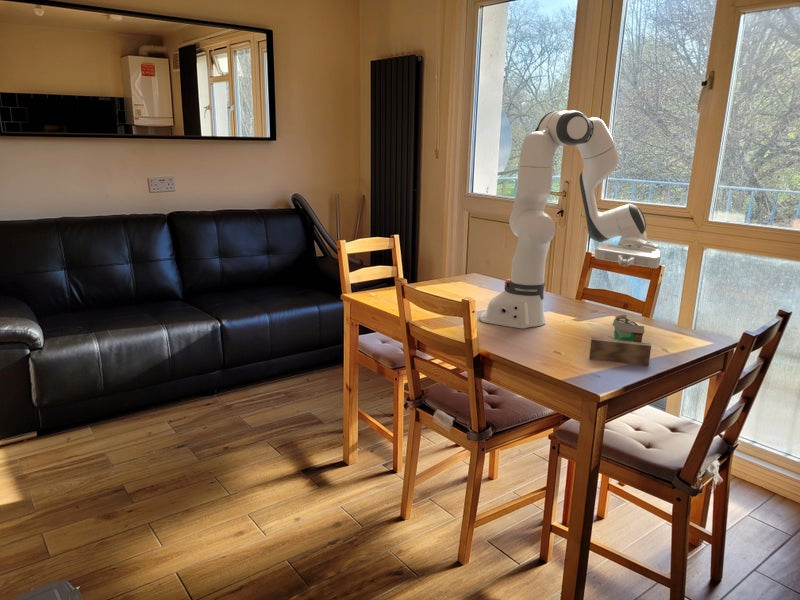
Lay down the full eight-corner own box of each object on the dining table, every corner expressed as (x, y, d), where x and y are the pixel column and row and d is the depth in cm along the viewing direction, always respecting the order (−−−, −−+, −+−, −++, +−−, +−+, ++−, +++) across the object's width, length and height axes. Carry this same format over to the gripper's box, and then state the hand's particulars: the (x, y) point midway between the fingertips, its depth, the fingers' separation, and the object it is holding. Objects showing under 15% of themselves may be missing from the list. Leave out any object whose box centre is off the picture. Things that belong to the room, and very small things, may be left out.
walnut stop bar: (589, 359, 174) (591, 339, 173) (589, 356, 177) (591, 337, 175) (648, 366, 170) (651, 345, 168) (647, 363, 172) (650, 343, 171)
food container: (602, 345, 187) (606, 314, 184) (621, 345, 187) (625, 314, 185) (620, 359, 175) (624, 326, 172) (641, 359, 175) (645, 326, 173)
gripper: (599, 236, 205) (592, 249, 194) (663, 245, 197) (659, 259, 186) (596, 253, 208) (589, 267, 197) (660, 263, 200) (656, 278, 189)
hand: (624, 263), depth 191 cm, fingers closed
